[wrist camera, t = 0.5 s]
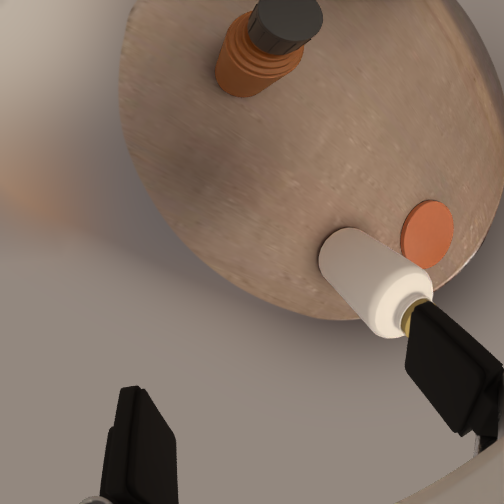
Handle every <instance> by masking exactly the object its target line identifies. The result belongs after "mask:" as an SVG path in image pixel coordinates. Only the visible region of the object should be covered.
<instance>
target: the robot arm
mask: <svg viewBox="0 0 504 504" xmlns="http://www.w3.org/2000/svg"><path fill="white" fill-rule="evenodd" d="M502 365H503V364H502V363H500V361H498V360H497V359H496V358H495V357H494V356H493V355H492V354H491V353H489V351H488V350H486V349H485V348H484V347H483V346H482V345H481V344H480V343H479V342H478V341H477V340H475V339H474V338H473V337H472V336H471V335H470V334H469V333H468V332H466V331H465V330H464V329H463V328H462V327H461V326H460V325H458V324H457V323H456V322H455V321H454V320H453V319H451V318H450V317H449V316H448V315H447V314H446V313H444V312H443V311H442V310H441V309H439V308H438V307H437V306H436V305H435V304H434V303H433V302H431V301H426V302H424V303H422V304H419V305H417V306H415V308H414V311H413V312H412V313H411V319H410V328H409V337H408V345H407V353H406V360H405V369H406V372H407V374H408V375H409V376H410V377H411V379H412V380H413V381H414V382H415V384H416V385H417V386H418V387H419V389H420V390H421V391H422V392H423V394H424V395H425V396H426V398H427V399H428V400H429V401H430V403H431V404H432V405H433V407H434V408H435V409H436V410H437V412H438V413H439V414H440V416H441V417H442V418H443V420H444V421H445V422H446V423H447V425H448V426H449V427H450V429H451V430H452V431H453V432H454V433H458V434H459V435H460V436H461V437H463V436H464V435H466V434H467V433H469V432H470V431H471V430H473V431H474V432H475V433H476V439H475V448H474V456H473V459H471V460H469V461H468V462H467V463H465V464H464V465H462V466H460V467H459V468H457V469H456V470H454V471H453V472H451V473H450V474H448V475H446V476H445V477H443V478H441V479H440V480H438V481H436V482H435V483H433V484H431V485H429V486H428V487H426V488H424V489H422V490H421V491H418V492H417V493H415V494H413V495H411V496H409V497H407V498H405V499H403V500H401V501H399V502H397V503H395V504H504V368H503V367H502ZM176 457H177V456H176V439H175V436H174V434H173V432H172V430H171V429H170V428H169V426H168V425H167V423H166V421H165V420H164V418H163V417H162V415H161V414H160V412H159V411H158V409H157V407H156V406H155V404H154V403H153V401H152V400H151V398H150V396H149V395H148V393H147V391H146V390H145V389H141V388H140V387H139V386H130V387H124V388H121V390H120V394H119V399H118V404H117V410H116V416H115V421H114V426H113V427H111V428H110V429H109V432H108V438H107V444H106V450H105V457H104V464H103V471H102V478H101V487H100V496H92V497H88V498H86V499H84V500H83V501H82V502H81V503H80V504H179V502H178V484H177V461H176V460H177V458H176Z"/></svg>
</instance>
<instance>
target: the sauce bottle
mask: <svg viewBox="0 0 504 504" xmlns="http://www.w3.org/2000/svg"><path fill="white" fill-rule="evenodd" d="M251 13H252V11H250V12H247V13H245V14H243V15H241V16H240V17H238V18H237V19H236V20H235V21H234V22H233V23H232V24H231V25H230V27H229V29H228V31H227V34H226V37H225V39H224V42H223V45H222V48H221V51H220V54H219V57H218V60H217V63H216V67H215V77H216V80H217V82H218V84H219V86H220V87H221V88H222V89H223V90H224V91H225V92H227V93H228V94H230V95H233V96H236V97H250V96H253V95H256V94H258V93H259V92H261V91H262V90H264V89H265V88H267V87H268V86H270V85H271V84H273V83H274V82H276V81H277V80H279V79H280V78H282V77H283V76H285V75H286V74H288V73H289V72H291V71H292V70H293V69H294V68H295V67H296V66H297V65H298V64H299V62H300V60H301V58H302V55H303V50H304V45H303V46H302V47H300V48H299V49H298V50H295V51H293V52H291V53H289V54H285V55H274V54H269V53H267V52H264V51H262V50H261V49H259V48H258V47H257V46H256V45H255V44H254V43H253V42H252V41H251V39H250V37H249V35H248V30H247V26H248V21H249V20H248V19H249V17H250V15H251Z"/></svg>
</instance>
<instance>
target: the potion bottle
mask: <svg viewBox="0 0 504 504" xmlns="http://www.w3.org/2000/svg"><path fill="white" fill-rule="evenodd" d="M319 268H320V271H321V273H322V275H323V277H324V278H325V279H326V280H327V281H328V282H329V283H330V284H331V285H332V286H333V288H334V289H335V290H336V291H337V292H338V293H339V294H340V295H341V296H342V297H343V299H344V300H345V301H346V302H347V303H348V304H349V305H350V306H351V307H352V309H353V310H354V311H355V312H356V313H357V314H358V315H359V316H360V318H361V319H362V320H363V321H364V322H365V323H366V324H367V325H368V327H369V328H370V329H371V330H372V331H373V332H374V333H375V334H376V335H378V336H381V337H384V338H397V337H400V336H403V335H406V336H407V337H409V328H410V319H411V313H412V312H413V311H414V308H415V306H417V305H419V304H422V303H424V302H426V301H431V302H432V297H433V288H432V281H431V279H430V277H429V275H428V273H427V272H426V271H425V270H423V269H422V268H421V267H419V266H418V265H416V264H415V263H413V262H412V261H410V260H408V259H407V258H405V257H404V256H402V255H401V254H399V253H397V252H396V251H394V250H393V249H391V248H389V247H388V246H386V245H384V244H383V243H381V242H380V241H378V240H376V239H375V238H373V237H371V236H370V235H368V234H366V233H365V232H363V231H361V230H360V229H356V228H344V229H340V230H338V231H336V232H334V233H333V234H332V235H331V236H330V237H329V238H328V239H327V240H326V241H325V243H324V244H323V246H322V248H321V250H320V254H319Z"/></svg>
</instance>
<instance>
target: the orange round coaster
mask: <svg viewBox="0 0 504 504" xmlns="http://www.w3.org/2000/svg"><path fill="white" fill-rule="evenodd" d="M453 229H454V227H453V218H452V215H451V213H450V211H449V209H448V208H447V207H446V206H445V205H444V204H442V203H440V202H438V201H434V200H428V201H424V202H422V203H420V204H418V205H417V206H416V207H415V208H414V209H413V210H412V211H411V212H410V214H409V215H408V217H407V218H406V220H405V223H404V225H403V228H402V232H401V242H400V243H401V251H402V254H403V256H404V257H405V258H407V259H408V260H410V261H412V262H413V263H415V264H416V265H418V266H419V267H421V268H422V269H426V268H429V267H432V266H434V265H435V264H436V263H438V262H439V261H440V260H441V259H442V258H443V256H444V255H445V254H446V252H447V250H448V248H449V246H450V244H451V241H452V237H453Z"/></svg>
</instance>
